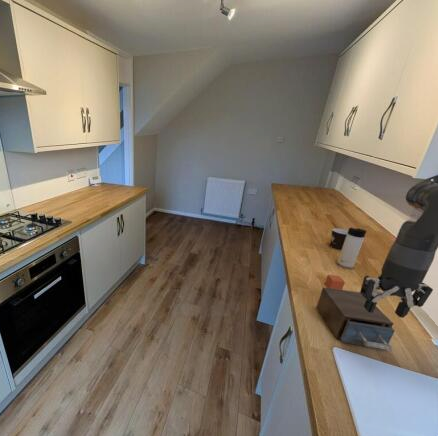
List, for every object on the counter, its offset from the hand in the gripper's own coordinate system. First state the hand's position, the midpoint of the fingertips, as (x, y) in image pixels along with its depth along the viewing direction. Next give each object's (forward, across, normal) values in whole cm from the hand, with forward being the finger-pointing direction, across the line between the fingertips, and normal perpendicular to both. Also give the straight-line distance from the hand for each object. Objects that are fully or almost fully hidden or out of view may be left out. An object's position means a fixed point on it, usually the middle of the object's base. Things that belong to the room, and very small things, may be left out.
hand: (383, 313), depth 66 cm
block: (+15, +6, +34) cm, 38 cm away
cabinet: (+15, 0, +11) cm, 18 cm away
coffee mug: (+15, +26, +76) cm, 81 cm away
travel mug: (+15, +21, +55) cm, 61 cm away
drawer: (+14, 0, +6) cm, 15 cm away
